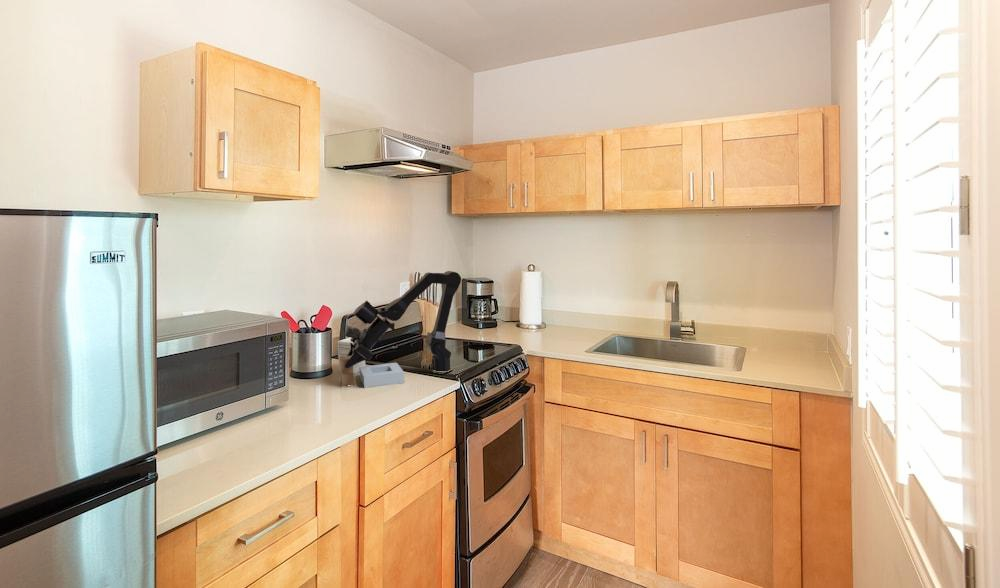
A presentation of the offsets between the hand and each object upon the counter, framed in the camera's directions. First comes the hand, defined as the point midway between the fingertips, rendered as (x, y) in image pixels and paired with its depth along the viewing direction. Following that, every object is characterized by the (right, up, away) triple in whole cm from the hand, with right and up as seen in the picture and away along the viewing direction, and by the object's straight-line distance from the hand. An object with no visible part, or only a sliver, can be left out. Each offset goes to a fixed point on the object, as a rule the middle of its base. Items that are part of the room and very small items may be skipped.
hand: (344, 365), depth 172 cm
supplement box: (-3, -5, +18) cm, 19 cm away
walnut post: (+1, -7, +1) cm, 7 cm away
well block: (+12, -6, +6) cm, 14 cm away
